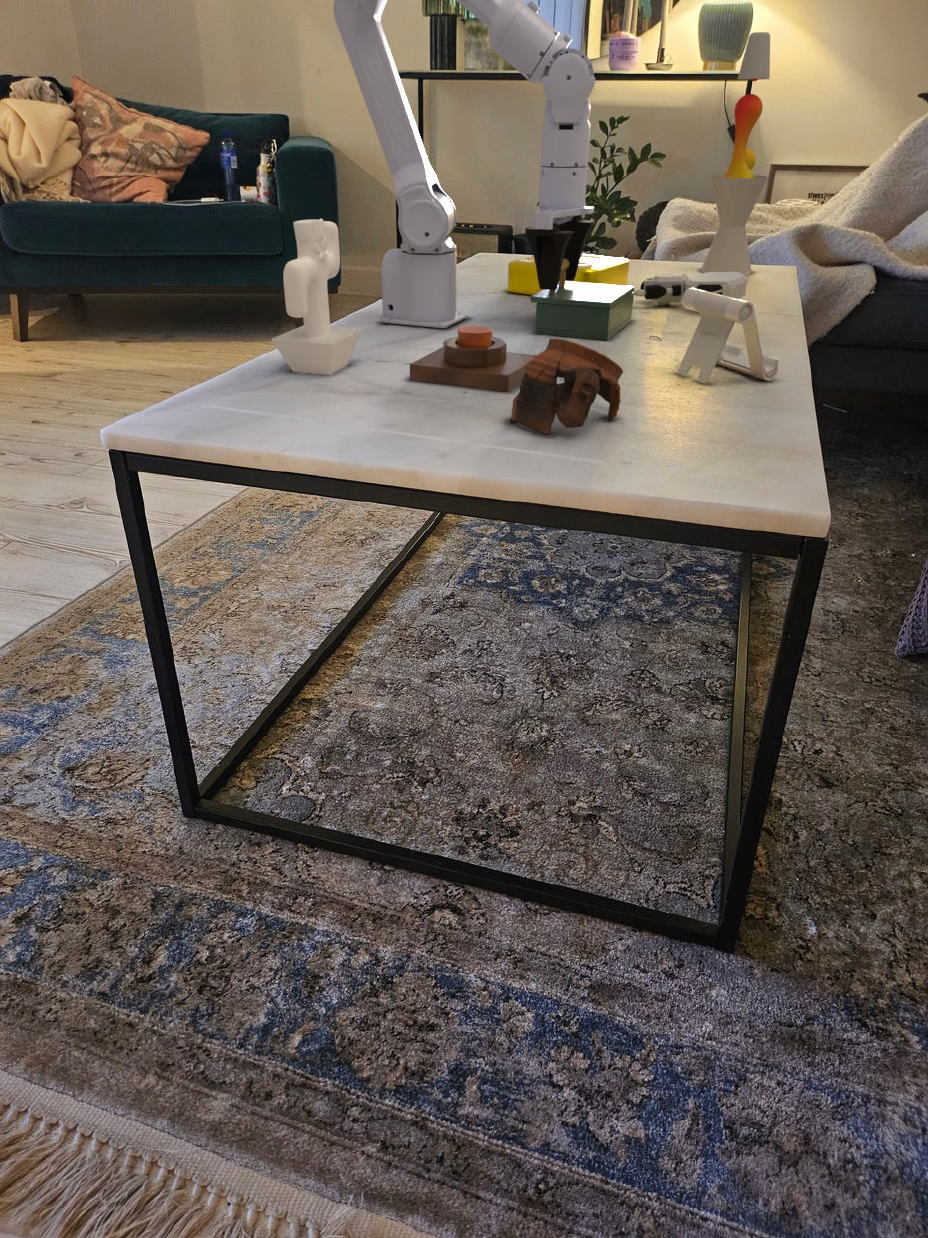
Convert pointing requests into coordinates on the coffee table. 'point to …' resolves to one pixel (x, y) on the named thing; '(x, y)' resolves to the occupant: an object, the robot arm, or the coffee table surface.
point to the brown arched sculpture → (565, 386)
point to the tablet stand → (724, 337)
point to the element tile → (588, 271)
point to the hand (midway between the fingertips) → (557, 284)
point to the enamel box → (583, 319)
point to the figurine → (314, 303)
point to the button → (474, 336)
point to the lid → (582, 293)
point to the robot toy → (692, 285)
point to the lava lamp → (740, 171)
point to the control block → (472, 366)
